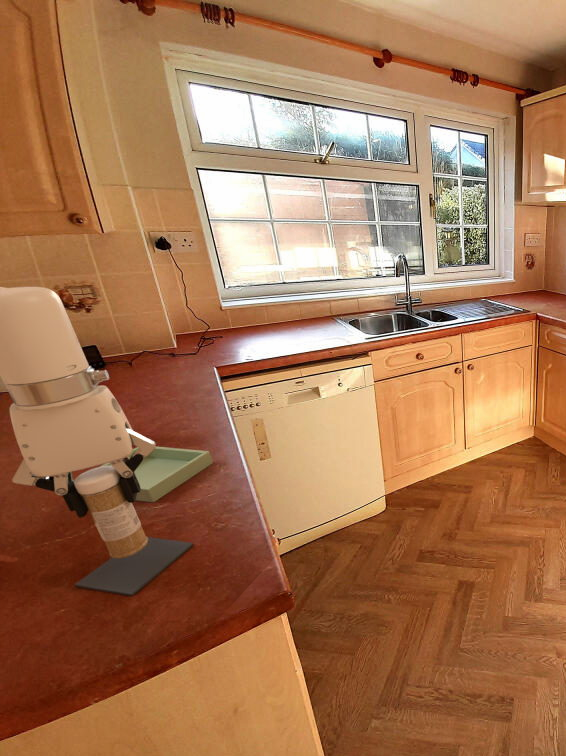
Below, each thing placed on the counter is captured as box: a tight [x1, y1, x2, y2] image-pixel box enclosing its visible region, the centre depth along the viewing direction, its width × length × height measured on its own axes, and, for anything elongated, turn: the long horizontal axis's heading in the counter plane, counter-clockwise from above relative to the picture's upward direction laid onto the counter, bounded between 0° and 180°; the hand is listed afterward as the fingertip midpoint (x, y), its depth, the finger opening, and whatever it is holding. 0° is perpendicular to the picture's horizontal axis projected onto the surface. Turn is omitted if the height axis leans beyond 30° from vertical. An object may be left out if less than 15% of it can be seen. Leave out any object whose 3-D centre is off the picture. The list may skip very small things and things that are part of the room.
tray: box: [73, 446, 214, 503], centre depth 86 cm, size 18×14×3 cm
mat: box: [74, 536, 195, 597], centre depth 65 cm, size 10×10×1 cm
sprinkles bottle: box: [73, 465, 148, 558], centre depth 61 cm, size 5×5×13 cm
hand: (109, 503), depth 60 cm, fingers closed on sprinkles bottle, 4 cm apart
